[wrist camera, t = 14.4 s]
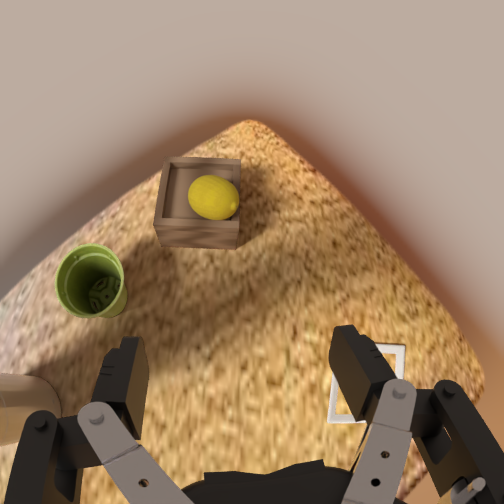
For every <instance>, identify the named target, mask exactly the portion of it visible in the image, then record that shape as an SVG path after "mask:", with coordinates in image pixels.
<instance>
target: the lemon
mask: <svg viewBox="0 0 504 504" xmlns="http://www.w3.org/2000/svg"><path fill="white" fill-rule="evenodd" d="M188 200H189V204H190V206H191V207H192V209H193V210H194V211H195V212H196V213H198V214H199V215H200V216H202V217H204V218H208V219H211V220H224V219H227V218H229V217H230V216H232V215H233V214H234V213H235V211H236V210H237V208H238V205H239V194H238V191H237V189H236V188H235V186H234V185H233V184H231V183H230V182H229V181H228V180H226V179H224V178H222V177H219V176H216V175H204V176H201V177H199V178H197V179H196V180H195V181H194V182H193V183H192V184H191V186H190V188H189V191H188Z"/></svg>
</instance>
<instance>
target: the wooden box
mask: <svg viewBox="0 0 504 504" xmlns="http://www.w3.org/2000/svg"><path fill="white" fill-rule="evenodd" d="M240 172H241V159H224V158H201V157H165V158H164V164H163V168H162V174H161V179H160V185H159V191H158V197H157V203H156V209H155V216H154V223H153V226H154V228H155V231H156V234H157V236H158V239H159V242H160V244H161V247H183V248H206V249H230V250H236V244H237V238H238V232H239V210H240ZM204 175H216V176H219V177H222V178H224V179H226V180H228V181H229V182H230V183H231V184H233V185H234V186H235V188H236V189H237V191H238V194H239V205H238V208H237V210H236V211H235V213H234V214H233V215H232V216H230V217H229V218H227V219H224V220H211V219H208V218H204V217H202V216H200V215H199V214H198V213H196V212H195V211H194V210H193V209H192V207H191V206H190V204H189V200H188V191H189V188H190V186H191V184H192V183H193V182H194V181H195V180H196V179H197V178H199V177H201V176H204Z"/></svg>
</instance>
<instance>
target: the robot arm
mask: <svg viewBox="0 0 504 504" xmlns="http://www.w3.org/2000/svg"><path fill="white" fill-rule="evenodd" d="M329 364H330V367H331V369H332V372H333V374H334V376H335V378H336V380H337V382H338V384H339V387H340V389H341V391H342V393H343V395H344V397H345V400H346V402H347V404H348V406H349V408H350V410H351V413H352V415H353V417H354V419H355V421H356V422H359V421H363V420H365V421H366V423H367V426H366V428H365V431H364V433H363V436H362V439H361V441H360V444H359V446H358V449H357V451H356V454H355V456H354V458H353V461H352V463H351V465H350V467H349V469H348V471H347V470H344V469H341V468H336V467H329V466H325V465H324V462H323V459H321V460H316V461H310V462H305V463H299V464H294V465H291V466H289V467H286V468H283V469H281V470H278V471H275V472H272V473H270V474H265V475H264V474H253V473H245V472H237V471H227V472H204V480H201V481H198V482H195V483H192V484H190V485H188V486H186V487H184V488H183V489H181V490H180V488H179V487H178V486H177V485H176V484H175V483H174V482H173V481H172V480H171V479H170V478H169V476H168V475H167V474H166V473H165V472H164V471H163V470H162V469H161V467H160V466H159V465H158V464H157V463H156V462H155V460H154V459H153V458H152V457H151V456H150V454H149V453H148V452H147V451H146V449H145V448H144V447H143V446H142V445H139V444H138V443H137V442H136V441H135V440H141V433H142V424H143V416H144V409H145V401H146V394H147V387H148V380H149V366H148V361H147V357H146V353H145V348H144V344H143V339H142V337H123V339H122V342H121V345H120V349H114V348H112V349H111V350H110V351H109V352H108V354H107V355H106V356H105V357H104V360H103V363H102V368H101V370H100V373H99V374H100V375H99V376H98V379H97V383H96V386H95V389H94V392H93V396H92V399H91V402H90V403H89V404H87V405H85V406H84V407H82V408H81V410H80V411H79V413H78V415H75V416H70V417H64V418H61V405H60V401H59V398H58V396H57V394H56V392H55V390H54V389H53V388H52V386H51V385H50V384H49V383H48V382H46V381H45V380H44V379H42V378H40V377H36V376H27V375H17V374H7V373H0V446H4V445H8V444H13V443H17V442H19V444H18V447H17V451H16V454H15V458H14V462H13V465H12V469H11V473H10V478H9V482H8V486H7V491H6V496H5V500H4V504H80V495H81V485H82V476H83V468H88V467H94V466H100V465H103V466H104V467H105V469H106V470H107V472H108V473H109V475H110V476H111V478H112V479H113V481H114V482H115V484H116V485H117V487H118V488H119V489H120V491H121V492H122V494H123V495H124V496H125V498H126V499H127V500H128V502H129V503H130V504H407V503H405V502H403V501H401V500H400V499H398V498H396V497H395V496H396V493H397V490H398V486H399V483H400V480H401V476H402V473H403V469H404V466H405V462H406V458H407V455H408V451H409V447H410V442H411V438H413V439H414V441H415V443H416V445H417V448H418V450H419V452H420V454H421V456H422V458H423V460H424V463H425V465H426V467H427V469H428V471H429V473H430V475H431V478H432V480H433V482H434V485H435V487H436V489H437V491H438V494H439V496H440V499H439V501H438V504H504V453H503V451H502V449H501V448H500V446H499V444H498V443H497V441H496V439H495V438H494V436H493V435H492V433H491V431H490V430H489V428H488V427H487V425H486V423H485V422H484V420H483V419H482V417H481V416H480V414H479V413H478V411H477V410H476V408H475V407H474V405H473V404H472V402H471V401H470V399H469V398H468V396H467V395H466V393H465V392H464V390H463V389H462V388H461V386H460V385H459V384H457V383H456V382H454V381H451V380H441V381H439V382H437V383H436V385H435V386H434V388H433V389H415V387H414V386H413V385H412V384H411V383H410V382H408V381H406V380H403V379H398V378H397V376H396V375H395V373H394V372H393V370H392V369H391V367H390V365H389V364H388V362H387V361H386V359H385V358H384V357H383V355H382V353H381V352H380V350H378V347H377V346H376V344H375V343H374V341H373V340H371V339H370V338H368V337H367V336H366V335H364V334H363V335H360V334H359V333H358V331H357V330H356V328H355V327H354V325H343V326H336V327H335V328H334V331H333V336H332V341H331V346H330V350H329ZM444 427H445V428H446V430H447V432H448V434H449V435H448V434H447V432H446V430H445V428H444ZM449 436H450V437H451V439H450V437H449ZM451 440H452V441H451Z"/></svg>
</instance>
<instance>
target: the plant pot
mask: <svg viewBox="0 0 504 504" xmlns="http://www.w3.org/2000/svg"><path fill="white" fill-rule="evenodd" d="M100 282H104V283H103V284H101V285H99V286H98V287H97V285H98V284H99V283H100ZM118 284H119V285H120V288H119V287H118ZM55 291H56V295H57V298H58V300H59V302H60V304H61V305H62V307H63V308H64V309H65V310H66V311H68V312H69V313H70V314H72V315H74V316H76V317H80V318H95V317H98V316H99V317H104V318H110V317H114V316H116V315H118V314H119V313H120V312H121V311H122V310H123V309H124V307H125V305H126V302H127V296H128V295H127V290H126V287H125V284H124V271H123V267H122V264H121V262H120V260H119V258H118V257H117V256H116V254H115V253H114V252H113V251H112V250H110V249H109V248H107V247H106V246H103V245H100V244H96V243H88V244H83V245H80V246H78V247H76V248H74V249H73V250H71V251H70V252H69V253H68V254H67V255H66V256H65V257H64V258H63V260H62V261H61V263H60V265H59V267H58V269H57V273H56V277H55ZM106 295H109V297H108V298H106V297H105V296H106ZM93 302H95V304H96V306H97V308H98V309H96V308H95V307H94V305H93Z"/></svg>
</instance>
